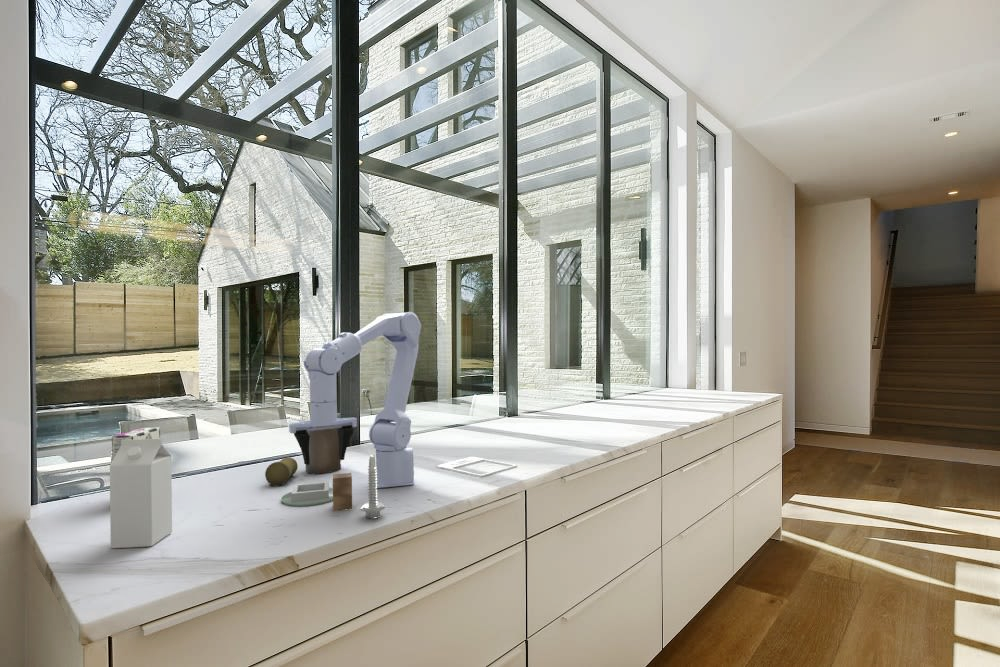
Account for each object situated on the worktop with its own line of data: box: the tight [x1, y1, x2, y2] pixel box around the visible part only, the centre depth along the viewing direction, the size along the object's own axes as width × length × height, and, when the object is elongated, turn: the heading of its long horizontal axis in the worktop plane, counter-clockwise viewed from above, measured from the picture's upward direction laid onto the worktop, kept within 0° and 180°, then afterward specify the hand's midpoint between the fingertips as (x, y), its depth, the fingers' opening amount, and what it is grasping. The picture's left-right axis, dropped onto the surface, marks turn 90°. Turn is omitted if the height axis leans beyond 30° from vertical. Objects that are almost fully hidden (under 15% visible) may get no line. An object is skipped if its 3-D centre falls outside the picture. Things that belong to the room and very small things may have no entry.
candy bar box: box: [111, 426, 161, 462], centre depth 126 cm, size 11×5×16 cm, turn 4°
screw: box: [360, 454, 386, 519], centre depth 111 cm, size 13×5×5 cm
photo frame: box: [435, 456, 518, 478], centre depth 153 cm, size 15×1×18 cm
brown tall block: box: [332, 472, 353, 512], centre depth 118 cm, size 4×4×7 cm
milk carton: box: [109, 438, 173, 549], centre depth 100 cm, size 7×7×19 cm
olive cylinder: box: [264, 456, 298, 487], centre depth 142 cm, size 6×6×11 cm
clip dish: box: [280, 481, 333, 507], centre depth 126 cm, size 13×13×2 cm
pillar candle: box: [305, 425, 342, 474], centre depth 153 cm, size 10×10×15 cm
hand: (324, 461), depth 121 cm, fingers open, 7 cm apart
